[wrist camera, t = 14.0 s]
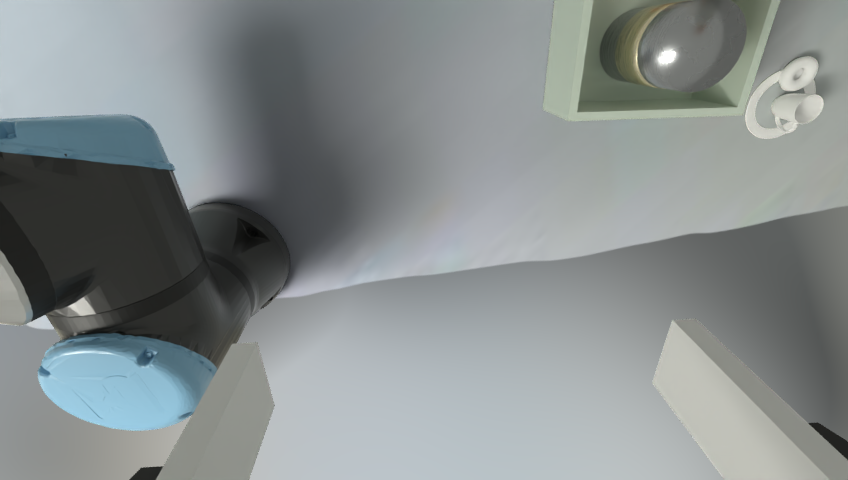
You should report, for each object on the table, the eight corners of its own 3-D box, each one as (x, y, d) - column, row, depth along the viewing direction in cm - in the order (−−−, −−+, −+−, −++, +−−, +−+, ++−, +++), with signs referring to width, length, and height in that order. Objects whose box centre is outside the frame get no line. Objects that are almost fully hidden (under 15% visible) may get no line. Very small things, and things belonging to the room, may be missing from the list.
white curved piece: (789, 46, 44) (825, 46, 40) (831, 84, 46) (868, 88, 42) (728, 116, 47) (755, 122, 43) (770, 149, 49) (799, 158, 46)
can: (593, 83, 44) (650, 94, 34) (605, 8, 40) (671, -3, 31) (656, 81, 44) (730, 91, 34) (673, 7, 41) (760, -5, 31)
